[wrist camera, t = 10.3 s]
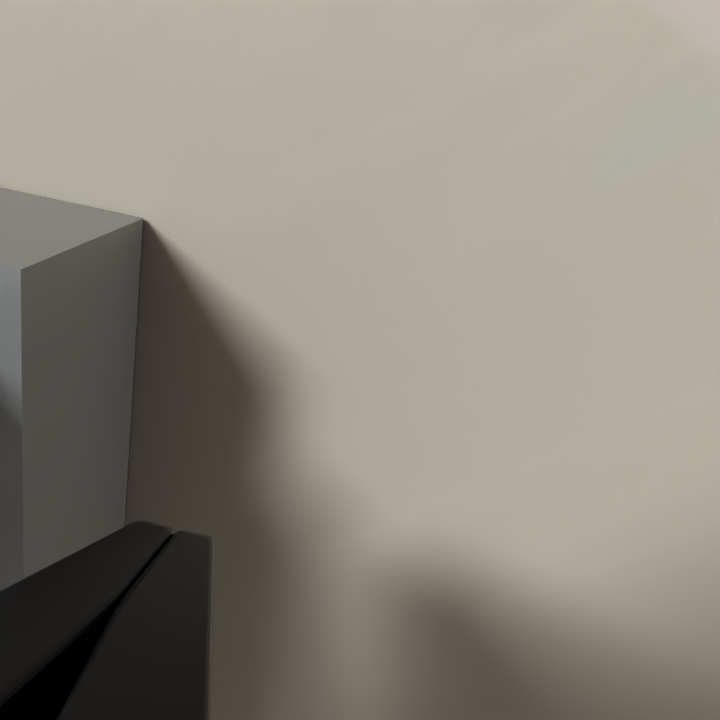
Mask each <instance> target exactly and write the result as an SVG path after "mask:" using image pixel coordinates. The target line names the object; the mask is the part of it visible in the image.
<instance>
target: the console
mask: <svg viewBox="0 0 720 720" xmlns="http://www.w3.org/2000/svg"><path fill="white" fill-rule="evenodd" d="M142 227H143V218H139V217H134V216H130V215H125V214H120V213H116V212H111V211H106V210H102V209H97V208H92V207H88V206H83V205H78V204H74V203H69V202H64V201H60V200H55V199H50V198H45V197H41V196H36V195H31V194H27V193H22V192H17V191H13V190H8V189H3V188H0V591H1V590H3V589H5V588H7V587H9V586H10V585H12V584H14V583H16V582H18V581H20V580H22V579H24V578H26V577H28V576H30V575H32V574H34V573H36V572H38V571H40V570H42V569H44V568H45V567H47V566H49V565H51V564H53V563H55V562H57V561H59V560H61V559H63V558H65V557H67V556H69V555H71V554H73V553H75V552H77V551H78V550H80V549H82V548H84V547H86V546H88V545H90V544H92V543H94V542H96V541H98V540H100V539H102V538H104V537H106V536H108V535H110V534H111V533H113V532H115V531H117V530H119V529H121V528H123V527H124V526H125V510H126V493H127V477H128V460H129V443H130V427H131V410H132V393H133V377H134V360H135V344H136V327H137V310H138V294H139V277H140V260H141V244H142Z"/></svg>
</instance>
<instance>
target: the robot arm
mask: <svg viewBox="0 0 720 720" xmlns="http://www.w3.org/2000/svg"><path fill="white" fill-rule="evenodd" d="M214 555H215V542H214V540H213V539H212V538H211V537H209V536H205V535H201V534H197V533H192V532H188V531H183V530H181V531H178V532H176V533H175V531H174V530H173V529H172V528H170V527H167V526H163V525H159V524H154V523H150V522H146V521H136V522H133V523H131V524H129V525H127V526H125V527H123V528H121V529H119V530H117V531H115V532H113V533H111V534H110V535H108V536H106V537H104V538H102V539H100V540H98V541H96V542H94V543H92V544H90V545H88V546H86V547H84V548H82V549H80V550H78V551H77V552H75V553H73V554H71V555H69V556H67V557H65V558H63V559H61V560H59V561H57V562H55V563H53V564H51V565H49V566H47V567H45V568H44V569H42V570H40V571H38V572H36V573H34V574H32V575H30V576H28V577H26V578H24V579H22V580H20V581H18V582H16V583H14V584H12V585H10V586H9V587H7V588H5V589H3V590H1V591H0V720H210V702H211V665H212V629H213V592H214Z"/></svg>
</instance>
